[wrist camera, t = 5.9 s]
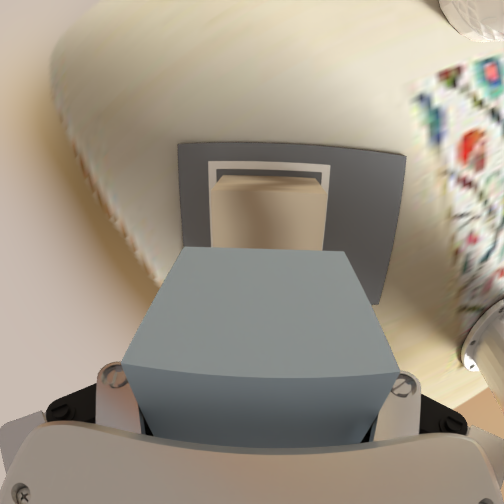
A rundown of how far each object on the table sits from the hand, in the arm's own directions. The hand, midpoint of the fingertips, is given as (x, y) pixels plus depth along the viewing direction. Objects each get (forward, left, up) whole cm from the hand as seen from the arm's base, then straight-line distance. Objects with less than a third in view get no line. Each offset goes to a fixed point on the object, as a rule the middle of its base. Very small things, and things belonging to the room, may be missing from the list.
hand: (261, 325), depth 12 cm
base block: (0, 0, -13) cm, 13 cm away
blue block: (0, 0, -1) cm, 1 cm away
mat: (-2, +1, -13) cm, 14 cm away
